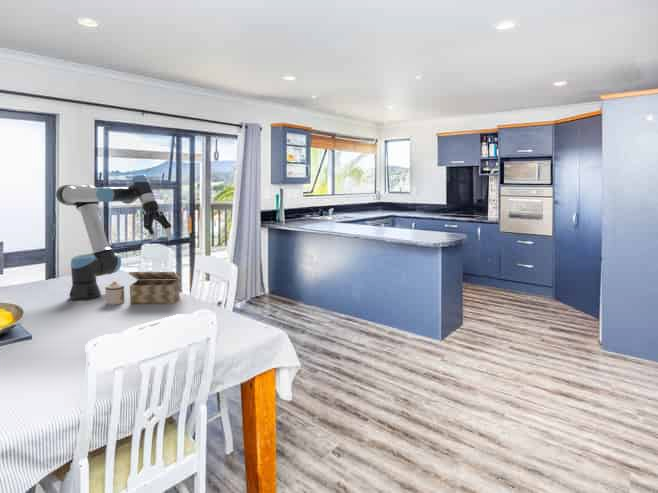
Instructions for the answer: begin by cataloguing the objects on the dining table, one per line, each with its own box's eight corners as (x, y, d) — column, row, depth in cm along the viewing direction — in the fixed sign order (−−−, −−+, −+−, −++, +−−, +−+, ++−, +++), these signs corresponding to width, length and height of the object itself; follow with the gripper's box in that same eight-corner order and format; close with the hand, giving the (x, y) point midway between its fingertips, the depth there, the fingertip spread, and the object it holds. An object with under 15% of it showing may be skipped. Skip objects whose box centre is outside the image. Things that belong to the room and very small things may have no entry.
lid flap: (128, 273, 224) (128, 271, 225) (137, 279, 238) (137, 278, 238) (173, 273, 227) (174, 271, 227) (179, 279, 241) (180, 277, 241)
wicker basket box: (130, 304, 226) (129, 285, 224) (139, 297, 240) (138, 279, 238) (173, 303, 228) (172, 285, 227) (179, 296, 242) (179, 279, 241)
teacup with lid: (124, 304, 225) (123, 282, 224) (105, 305, 222) (103, 283, 220) (125, 298, 236) (124, 278, 235) (107, 300, 233) (106, 279, 231)
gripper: (139, 198, 214) (154, 237, 213) (168, 201, 238) (182, 236, 237) (127, 204, 215) (142, 243, 214) (157, 207, 240) (171, 242, 239)
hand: (163, 240), depth 226 cm, fingers open, 13 cm apart
